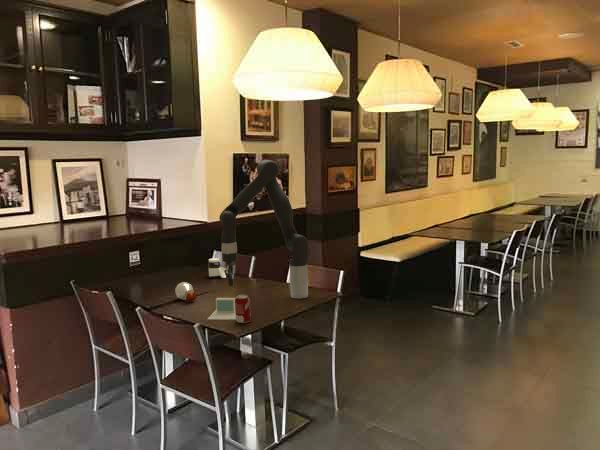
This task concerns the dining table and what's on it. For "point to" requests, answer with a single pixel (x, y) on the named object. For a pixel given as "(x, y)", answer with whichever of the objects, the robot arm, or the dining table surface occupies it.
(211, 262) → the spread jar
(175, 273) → the dining table surface
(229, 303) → the card deck
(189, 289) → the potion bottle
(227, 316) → the mat
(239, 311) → the soda can
